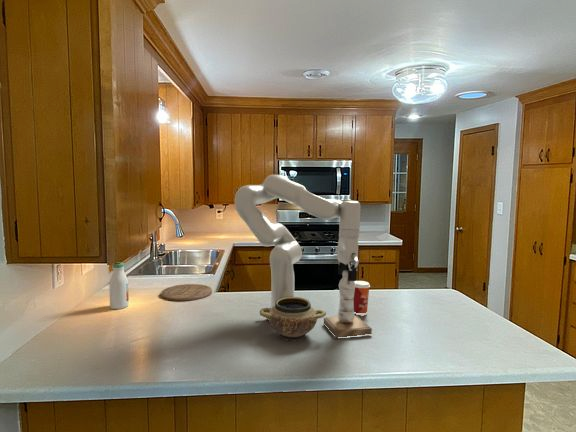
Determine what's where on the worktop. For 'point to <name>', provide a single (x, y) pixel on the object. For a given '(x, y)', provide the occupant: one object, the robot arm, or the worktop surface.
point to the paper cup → (361, 296)
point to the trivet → (186, 292)
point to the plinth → (347, 327)
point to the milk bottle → (118, 288)
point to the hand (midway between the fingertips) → (346, 277)
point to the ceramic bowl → (292, 317)
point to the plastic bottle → (346, 299)
